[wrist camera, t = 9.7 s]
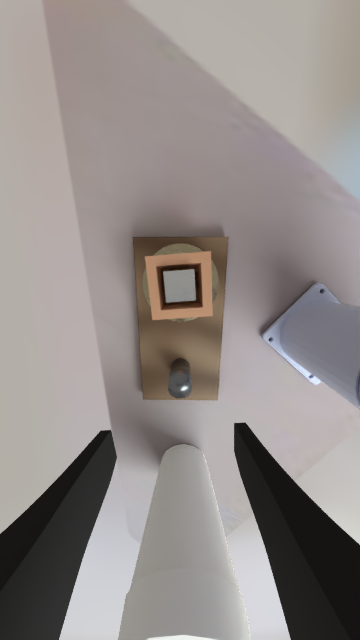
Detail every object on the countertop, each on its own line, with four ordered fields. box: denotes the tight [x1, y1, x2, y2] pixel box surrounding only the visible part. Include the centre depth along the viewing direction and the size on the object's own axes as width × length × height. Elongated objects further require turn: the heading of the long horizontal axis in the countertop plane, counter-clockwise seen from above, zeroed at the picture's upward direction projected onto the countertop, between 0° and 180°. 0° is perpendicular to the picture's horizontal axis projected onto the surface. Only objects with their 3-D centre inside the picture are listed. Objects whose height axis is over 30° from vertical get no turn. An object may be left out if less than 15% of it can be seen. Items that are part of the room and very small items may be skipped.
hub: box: [142, 244, 219, 322], centre depth 15 cm, size 8×8×4 cm
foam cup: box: [118, 444, 252, 640], centre depth 17 cm, size 10×9×13 cm
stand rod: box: [168, 358, 192, 399], centre depth 17 cm, size 2×2×4 cm
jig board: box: [133, 237, 228, 400], centre depth 18 cm, size 18×9×1 cm, turn 0°
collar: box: [145, 251, 213, 320], centre depth 15 cm, size 5×5×3 cm
